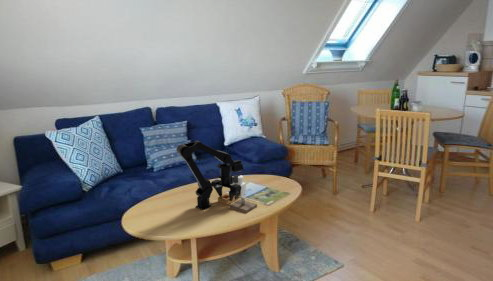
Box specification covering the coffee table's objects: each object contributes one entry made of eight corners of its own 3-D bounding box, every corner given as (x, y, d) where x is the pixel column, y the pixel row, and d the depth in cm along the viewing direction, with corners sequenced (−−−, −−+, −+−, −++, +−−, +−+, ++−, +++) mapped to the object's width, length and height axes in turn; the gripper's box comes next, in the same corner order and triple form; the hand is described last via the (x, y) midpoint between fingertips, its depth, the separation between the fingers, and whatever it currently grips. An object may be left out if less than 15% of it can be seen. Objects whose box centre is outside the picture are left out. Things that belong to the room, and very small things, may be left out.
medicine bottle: (230, 195, 209) (230, 176, 206) (236, 191, 215) (235, 173, 212) (240, 197, 206) (240, 178, 203) (246, 193, 212) (245, 174, 209)
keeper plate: (246, 212, 184) (246, 203, 183) (229, 207, 191) (228, 198, 189) (257, 206, 192) (256, 197, 190) (240, 201, 199) (239, 193, 197)
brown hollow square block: (227, 204, 195) (227, 200, 194) (217, 202, 199) (217, 197, 198) (234, 200, 200) (234, 196, 200) (225, 198, 204) (225, 193, 204)
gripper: (246, 173, 197) (247, 198, 200) (222, 167, 207) (222, 192, 211) (234, 178, 188) (235, 204, 191) (209, 172, 199) (210, 197, 202)
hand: (226, 199), depth 199 cm, fingers open, 7 cm apart
